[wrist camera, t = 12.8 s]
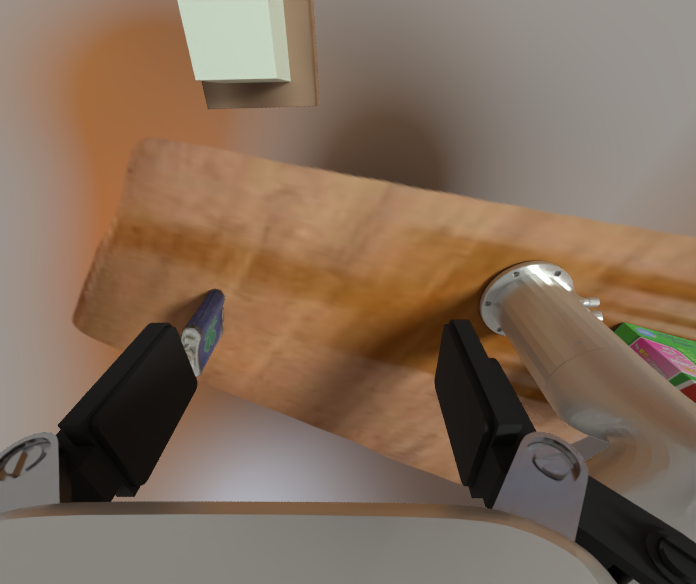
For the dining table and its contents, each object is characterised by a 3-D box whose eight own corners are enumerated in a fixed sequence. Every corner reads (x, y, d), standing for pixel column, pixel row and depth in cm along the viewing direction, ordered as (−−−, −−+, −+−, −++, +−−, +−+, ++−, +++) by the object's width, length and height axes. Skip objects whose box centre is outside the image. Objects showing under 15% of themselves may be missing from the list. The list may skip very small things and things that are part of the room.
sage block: (282, -10, 25) (263, -38, 20) (290, 81, 28) (276, 78, 23) (206, -8, 25) (169, -35, 20) (224, 83, 28) (195, 80, 23)
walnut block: (311, -27, 28) (304, -49, 24) (319, 104, 33) (314, 106, 29) (200, -22, 28) (173, -43, 24) (226, 107, 33) (207, 108, 29)
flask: (223, 337, 50) (194, 390, 41) (205, 333, 50) (171, 386, 41) (226, 290, 46) (194, 338, 37) (206, 285, 45) (168, 333, 36)
